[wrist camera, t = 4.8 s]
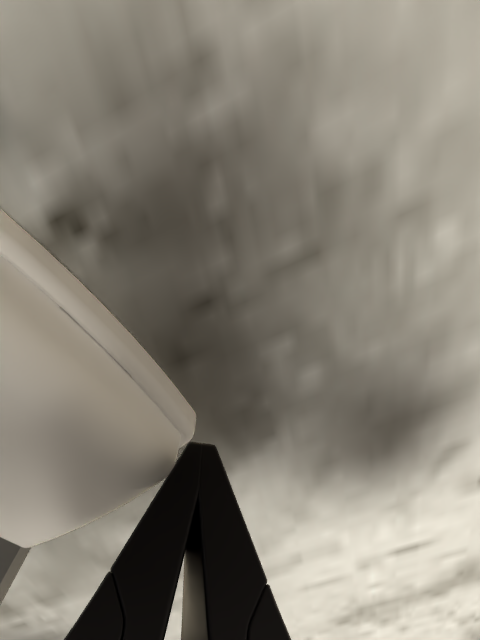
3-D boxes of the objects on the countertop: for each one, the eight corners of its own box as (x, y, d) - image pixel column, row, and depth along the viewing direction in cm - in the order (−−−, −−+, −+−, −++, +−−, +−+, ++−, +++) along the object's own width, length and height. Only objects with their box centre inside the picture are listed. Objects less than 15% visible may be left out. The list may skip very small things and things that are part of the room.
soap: (-179, 321, 8) (-376, 390, 5) (-15, 171, 7) (-173, 163, 4) (71, 492, 11) (25, 585, 9) (213, 416, 10) (208, 499, 7)
